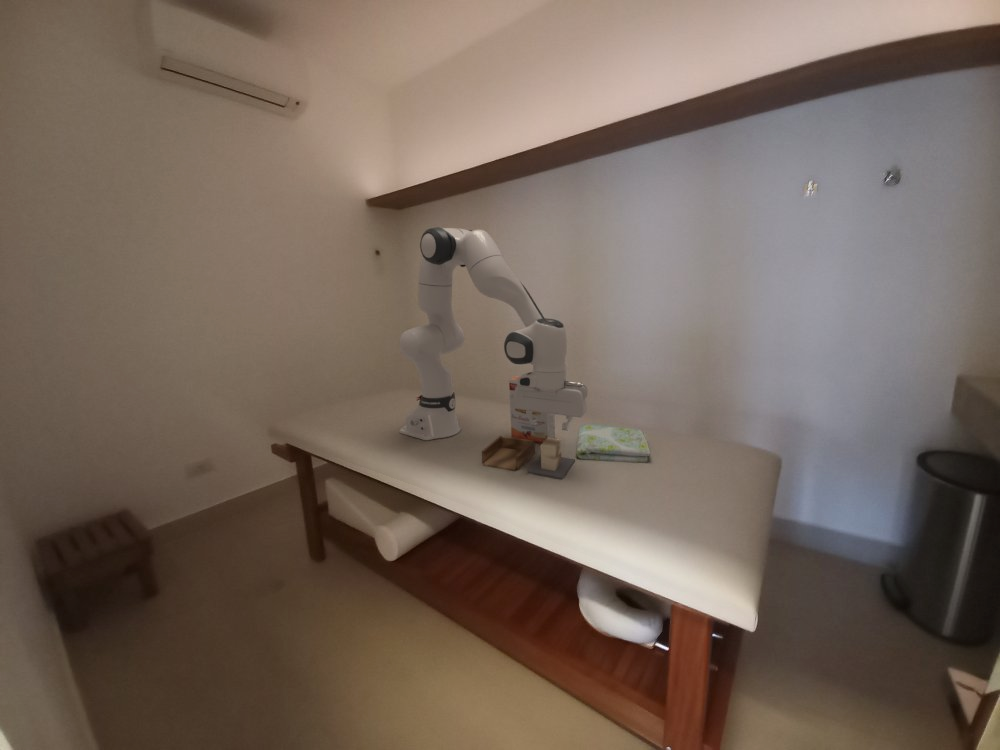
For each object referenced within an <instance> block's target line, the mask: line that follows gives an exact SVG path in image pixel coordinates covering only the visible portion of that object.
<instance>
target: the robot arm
mask: <svg viewBox="0 0 1000 750" xmlns="http://www.w3.org/2000/svg"><path fill="white" fill-rule="evenodd" d="M419 244H420V245H419V248H420V253H421V259H420V265H419V272H418V284H417V285H418V290H417V291H418V292H417V305H418V308H419V309H420V310H421V311H422V312H423V313H426V315H427V319H428V324H426V325H419V326H414V327H412V328H410V329H409V328H408V329H407V330H405V331H404V332H402V333H401V335H400V338H399V349H400V351H401V354H403V356H405V358H407V359H408V360H410V361H411V362H412V363H413V364H414V366H415V367H416V369H417V371H418V375H419V380H420V386H421V388H420V389H421V394H420V395H419V396H418V397H416V401H419V402H418V405H417V406H416V407H414V408H413V409H411V411H410V412H409V413H408V414H407V416H406V419H405V425H404V426H402V427H401V428H400V429H399V433H400V434H402V435H406V436H409V437H413V438H416V439H420V440H423V441H432V440H435V439H443V438H448V437H451V436H455V435H457V434H458V433H460V432H461V429H462V428H461V426H460V423H459V420H458V416H457V411H456V395H455V391H454V384H453V373H452V371H451V370H450V369H449V368H448V367H446V366H444V365H443V363H442V361H441V355H445V354H446V355H447V354H450V353H453V352H454V351H457V350H458V349H460V348H461V347H462V346H463V345H464V343H465V333H464V331H463V328H462V327H461V326H460V325H459V324H458V323H457V322H456V319H455V316H454V312H453V307H452V305H453V303H452V301H453V299H452V297H453V295H452V294H453V274H454V270H455V268H457V267H458V266H459V267H461V268H466V270H467V272H468V275H469V277H470V279H471V282H472V283H473V285H474V287H475V289H477V290H478V292H479V293H480V294H481V295H483V296H485V297H487V298H489V299H490V298H491V299H494V300H498V301H501V302H504V303H506V304H507V305H509V306H511V307H512V308H513V310H514V311H516V314H517V315H518V317H519V318H520V320H521V322H522V323H523V325H524V326H525V327H523V328H521V329H517V330H514V331H511V332H510V333H508V335H507V336H506V337H505V340H504V343H503V349H504V354H505V356H506V358H507V359H508V360H509V362H511V363H512V364H515V365H527V364H531V365H532V367H533V368H532V369H533V370H532V371H530V372H525V373H523V374H521V375H519V376H520V377H518V378H517V379H516V383H517V385H518V386H517V387H516V388H515V391H514V406H515V407H516V409H522V410H526V415H527V416H528V418H529V419H530V425H534V426H535V425H536V424H537V422H536V421H537V418H534V416H533V414H532V412H533V411H536V412H543V413H550V414H554V415H559V416H565V420H567V421H564V422H563V423H562V424H561V430H562V431H567V432H568V431H569V429H570V423H571V421H573V418H582V417H584V416H585V415H586V414H587V412H588V411H587V397H588V388H587V386H586V385H584V384H583V383H582V382H575V381H570V380H569V381H568V380H567V365H566V356H567V352H568V351H567V348H568V347H567V346H568V345H567V343H568V342H567V331H566V328H565V326H564V323H563V322H561V321H560V320H557V319H554V318H545V317H544V315H543V313H542V312H541V310H540V309H539V307H538V305H537V303H536V302H535V300H534V298H533V297H532V295H531V294H530V292H529V291H528V289H527V288H526V287H525V285H524V284H523V283H522V282H521V280H520V279H518V278H517V276H516V275H515V274H514V272H513V270H511V268H510V267H509V265H508V264H507V262H506V260H505V258H504V256H503V254H502V251H501V250H500V248H499V247H498V245H497V243H496V242H495V240H494V239H493V237H492V236H491V235H490V233H488V232H487V231H485V230H483V229H474V230H472V229H464V228H459V227H439V226H438V227H437V226H436V227H432V228H427V229H425V231H424V232H423V233H422V235H421V238H420V243H419Z"/></svg>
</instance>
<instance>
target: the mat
mask: <svg viewBox="0 0 1000 750" xmlns="http://www.w3.org/2000/svg"><path fill="white" fill-rule="evenodd" d="M561 458H562V462H561V463H560V465H559V466H558V467H557V469H556V470H555V471H553V470H547V469H541V456H540V457H539V458H538V459H537V460H536V461H535V463H533V465H532V466H531V467H530V468H529V469H528V470H527V474H530V475H534V476H541V477H546V478H552V479H557V480H563V479H564V478H565V477H566V475H567V474H568V472H569V470H570V469H571V468H572V466H573V465H574V464H575V462H576V459H575V458H570V457H564V456H563V457H562V456H561Z"/></svg>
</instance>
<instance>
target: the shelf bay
mask: <svg viewBox="0 0 1000 750" xmlns="http://www.w3.org/2000/svg"><path fill="white" fill-rule="evenodd" d="M535 444H536V442H535V441H534V440H527V439H520V438H514V437H511V436H505V435H500V436H498V437H497V438H496V439H494V440H493V441H492V442H491V443H490V444H488V445H487V446H486V447H485V448H483V449H482V450H481V462H482V463H481V464H482V465H483V466H485V467H491V468H497V469H502V470H507V471H512V472H516V471H520V469H522V467H524V465H525V464H526V463H527V462H528V461H529V460H530V458H531V457H533V455H535V454H536V446H535Z"/></svg>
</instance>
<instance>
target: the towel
mask: <svg viewBox="0 0 1000 750" xmlns="http://www.w3.org/2000/svg"><path fill="white" fill-rule="evenodd" d="M576 440H577V441H576V447H575V449H576V450H575V452H576V453H575V454H576V457H577V458H579V459H580V460H592V461H607V462H608V461H610V462H626V463H647V462H648V461H649V457H650V456H651V452H650V448H649V447H650V446H649V444H648V441H647V435H646V432H644V431H643V430H641V429H640V428H637V427H634V428H632V427H624V426H623V427H621V426H612V425H603V424H594V423H593V424H592V423H591V424H590V423H588V424H587V423H586V424H583V425H580V426H579V428H578V433H577V439H576Z"/></svg>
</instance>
